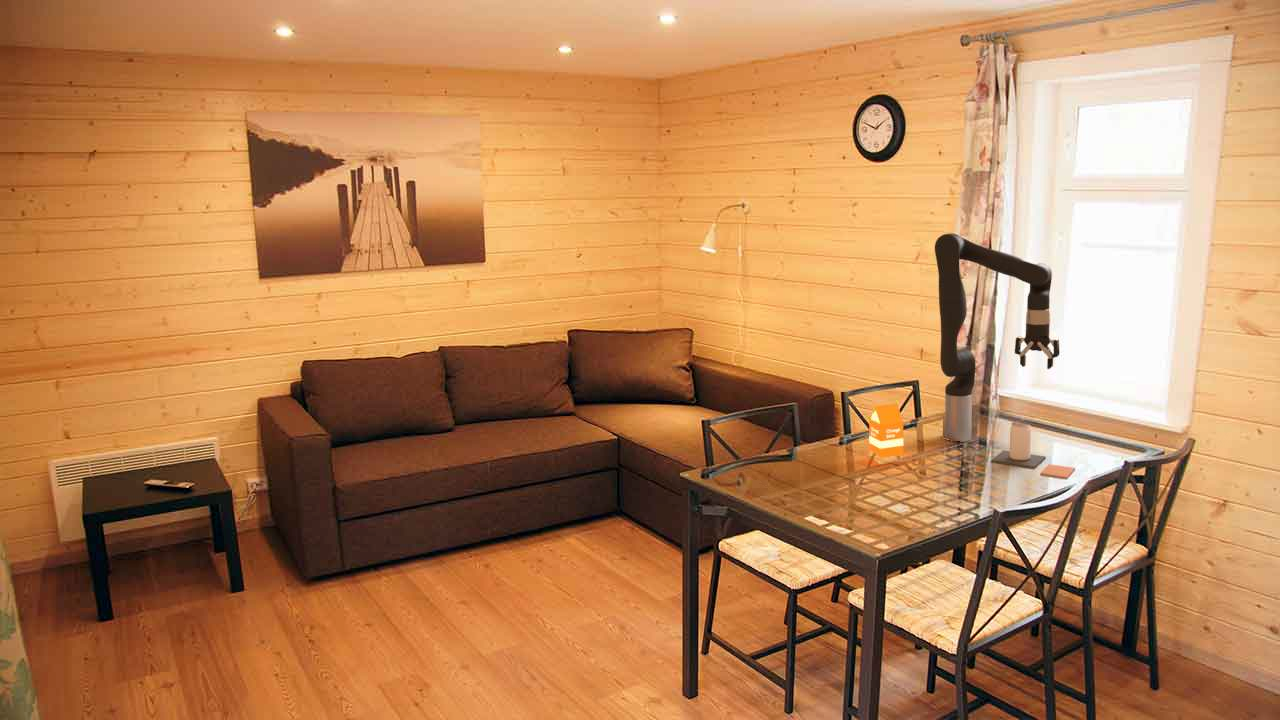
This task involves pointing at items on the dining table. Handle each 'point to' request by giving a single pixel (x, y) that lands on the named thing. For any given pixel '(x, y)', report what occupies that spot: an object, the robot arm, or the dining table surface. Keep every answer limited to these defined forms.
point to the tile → (1057, 471)
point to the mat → (1006, 459)
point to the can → (1020, 441)
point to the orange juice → (886, 431)
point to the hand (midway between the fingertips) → (1036, 367)
